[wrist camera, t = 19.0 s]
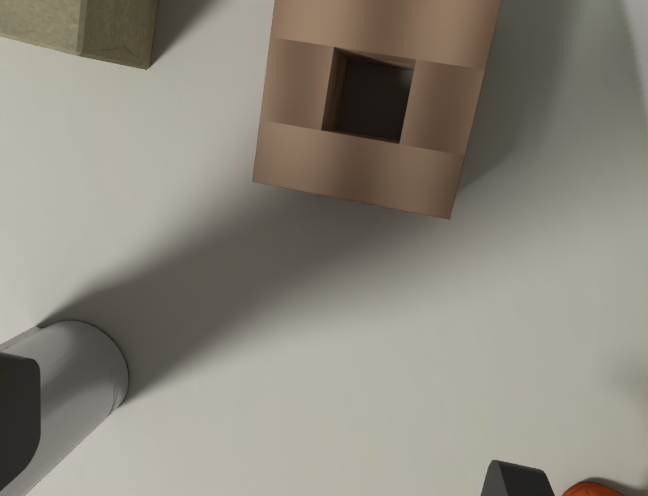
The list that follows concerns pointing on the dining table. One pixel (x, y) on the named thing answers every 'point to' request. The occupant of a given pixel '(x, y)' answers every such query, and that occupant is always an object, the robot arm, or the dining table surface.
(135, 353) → the dining table surface
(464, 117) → the block
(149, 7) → the tissue box
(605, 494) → the toy drill
